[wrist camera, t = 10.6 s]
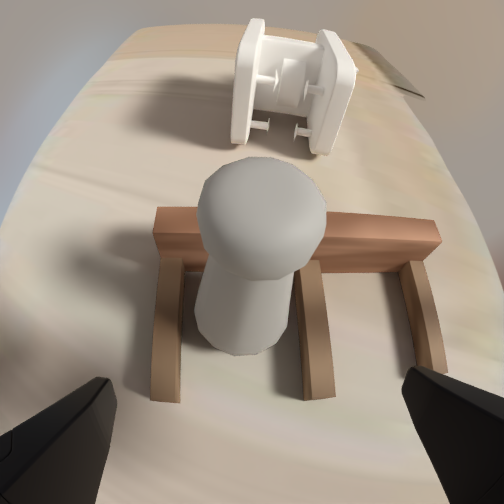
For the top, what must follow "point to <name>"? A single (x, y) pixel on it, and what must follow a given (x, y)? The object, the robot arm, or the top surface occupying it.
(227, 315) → the salt shaker
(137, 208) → the top surface
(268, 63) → the cable organizer
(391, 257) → the wooden letter e
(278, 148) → the top surface
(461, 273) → the top surface
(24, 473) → the robot arm
